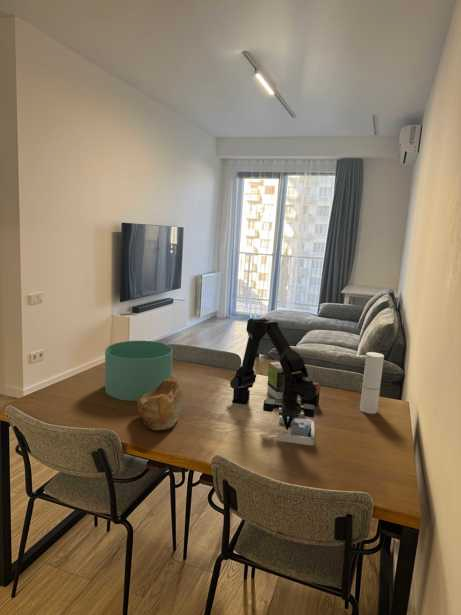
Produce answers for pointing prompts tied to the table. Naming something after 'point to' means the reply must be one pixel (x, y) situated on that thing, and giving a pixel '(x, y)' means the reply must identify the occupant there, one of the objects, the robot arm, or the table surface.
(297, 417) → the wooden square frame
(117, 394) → the container
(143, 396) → the rough brown rock
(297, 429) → the block
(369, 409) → the cylindrical container
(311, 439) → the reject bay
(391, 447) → the table surface
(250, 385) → the robot arm
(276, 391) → the tea box
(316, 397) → the battery
